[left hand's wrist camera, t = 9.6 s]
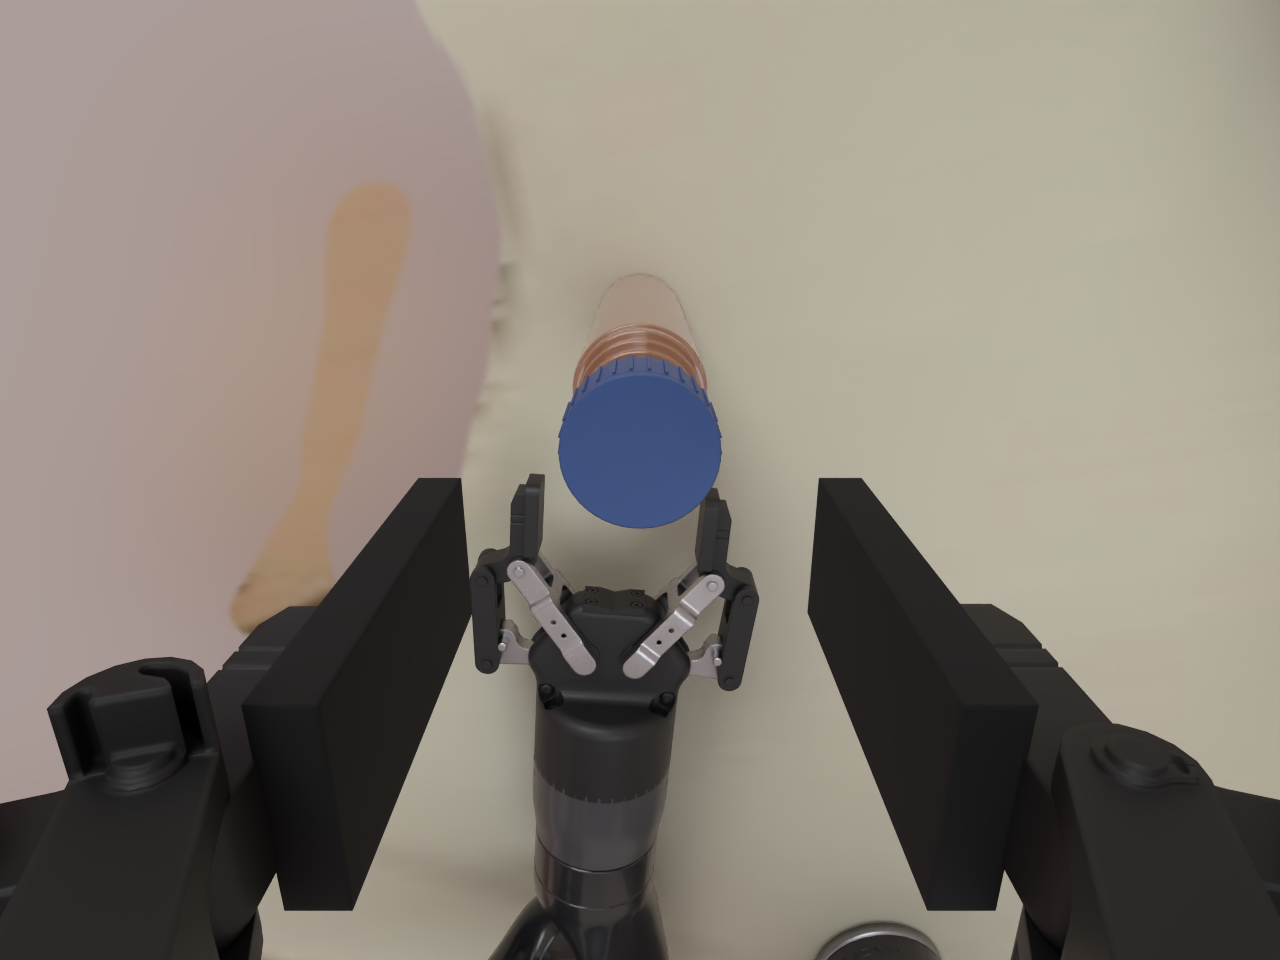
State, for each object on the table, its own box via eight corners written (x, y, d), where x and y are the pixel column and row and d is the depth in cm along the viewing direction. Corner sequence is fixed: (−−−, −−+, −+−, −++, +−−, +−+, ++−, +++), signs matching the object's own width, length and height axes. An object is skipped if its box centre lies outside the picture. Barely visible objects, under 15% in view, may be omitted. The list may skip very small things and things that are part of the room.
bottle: (635, 375, 42) (629, 560, 21) (580, 312, 41) (516, 439, 20) (698, 322, 41) (762, 459, 20) (645, 256, 40) (651, 325, 19)
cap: (631, 527, 22) (630, 561, 20) (532, 420, 21) (521, 444, 19) (746, 438, 21) (757, 463, 19) (649, 321, 20) (650, 336, 18)
